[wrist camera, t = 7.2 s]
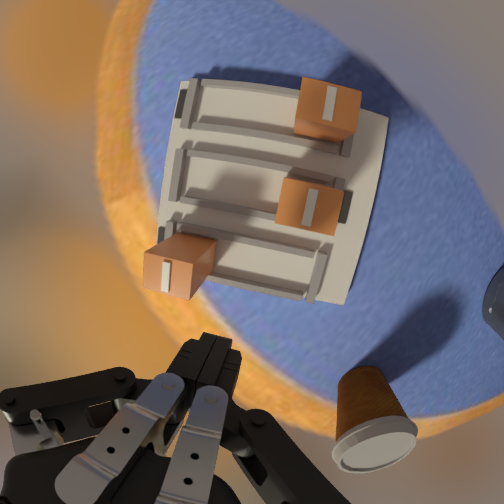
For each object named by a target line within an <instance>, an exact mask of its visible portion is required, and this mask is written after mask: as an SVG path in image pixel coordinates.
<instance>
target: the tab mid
mask: <svg viewBox="0 0 504 504" xmlns="http://www.w3.org/2000/svg"><path fill="white" fill-rule="evenodd" d="M343 197H344V191H341V190H338V189H335V188H332V187H329V186H325V185H321V184H317V183H312V182H308V181H304V180H299V179H294V178H290V177H284V178H283V183H282V188H281V193H280V198H279V203H278V208H277V213H276V218H275V223H276V224H280V225H285V226H290V227H294V228H299V229H303V230H308V231H312V232H317V233H321V234H326V235H330V236H334V234H335V230H336V226H337V222H338V218H339V214H340V210H341V205H342V201H343Z"/></svg>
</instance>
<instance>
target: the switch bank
mask: <svg viewBox="0 0 504 504" xmlns="http://www.w3.org/2000/svg"><path fill="white" fill-rule="evenodd" d="M299 93H300V90H296V89H290V88H285V87H279V86H272V85H265V84H258V83H250V82H240V81H230V80H216V79H202V81H200V80H199V79H194V78H190V81H181V85H180V89H179V93H178V98H177V103H176V107H175V112H174V117H173V122H172V127H171V133H170V138H169V144H168V150H167V156H166V163H165V169H164V176H163V184H162V192H161V200H160V209H159V219H158V229H157V241H156V245H157V244H159V243H160V242H162V241H164V240H165V239H167V238H169V237H171V236H172V235H174V234H176V233H178V232H181V233H185V234H190V235H195V236H200V237H205V238H209V239H214V240H217V245H216V252H215V259H214V266H213V270H212V271H211V273H210V274H209V275H208V277H207V278H206V279H205V280H207V281H211V282H215V283H220V284H224V285H228V286H233V287H237V288H241V289H246V290H250V291H255V292H259V293H264V294H269V295H273V296H278V297H283V298H288V299H293V300H297V301H302V298H303V297H304V298H305V301H306V302H307V303H312V304H314V301H315V300H319V301H325V302H330V303H335V304H340V305H344V302H345V299H346V296H347V293H348V290H349V287H350V284H351V281H352V278H353V275H354V272H355V268H356V265H357V262H358V258H359V255H360V252H361V248H362V244H363V241H364V237H365V233H366V230H367V226H368V222H369V218H370V214H371V210H372V206H373V201H374V197H375V192H376V188H377V183H378V178H379V173H380V168H381V163H382V158H383V152H384V146H385V140H386V133H387V127H388V120H389V117H386V116H383V115H380V114H377V113H374V112H371V111H367V110H364V109H361V108H360V110H359V117H358V123H357V129H356V133H354V134H353V135H351V136H349V137H348V138H346V139H344V140H342V141H341V142H339V143H334V142H330V141H326V140H322V139H317V138H313V137H308V136H304V135H299V134H294V133H293V131H294V122H295V115H296V110H297V104H298V99H299ZM284 177H290V178H294V179H299V180H304V181H308V182H312V183H317V184H321V185H325V186H329V187H332V188H335V189H338V190H341V191H344V197H343V201H342V205H341V210H340V214H339V218H338V222H337V226H336V230H335V234H334V236H330V235H326V234H321V233H317V232H312V231H308V230H303V229H299V228H294V227H290V226H285V225H280V224H276V223H275V218H276V213H277V208H278V203H279V198H280V193H281V188H282V183H283V178H284Z"/></svg>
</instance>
